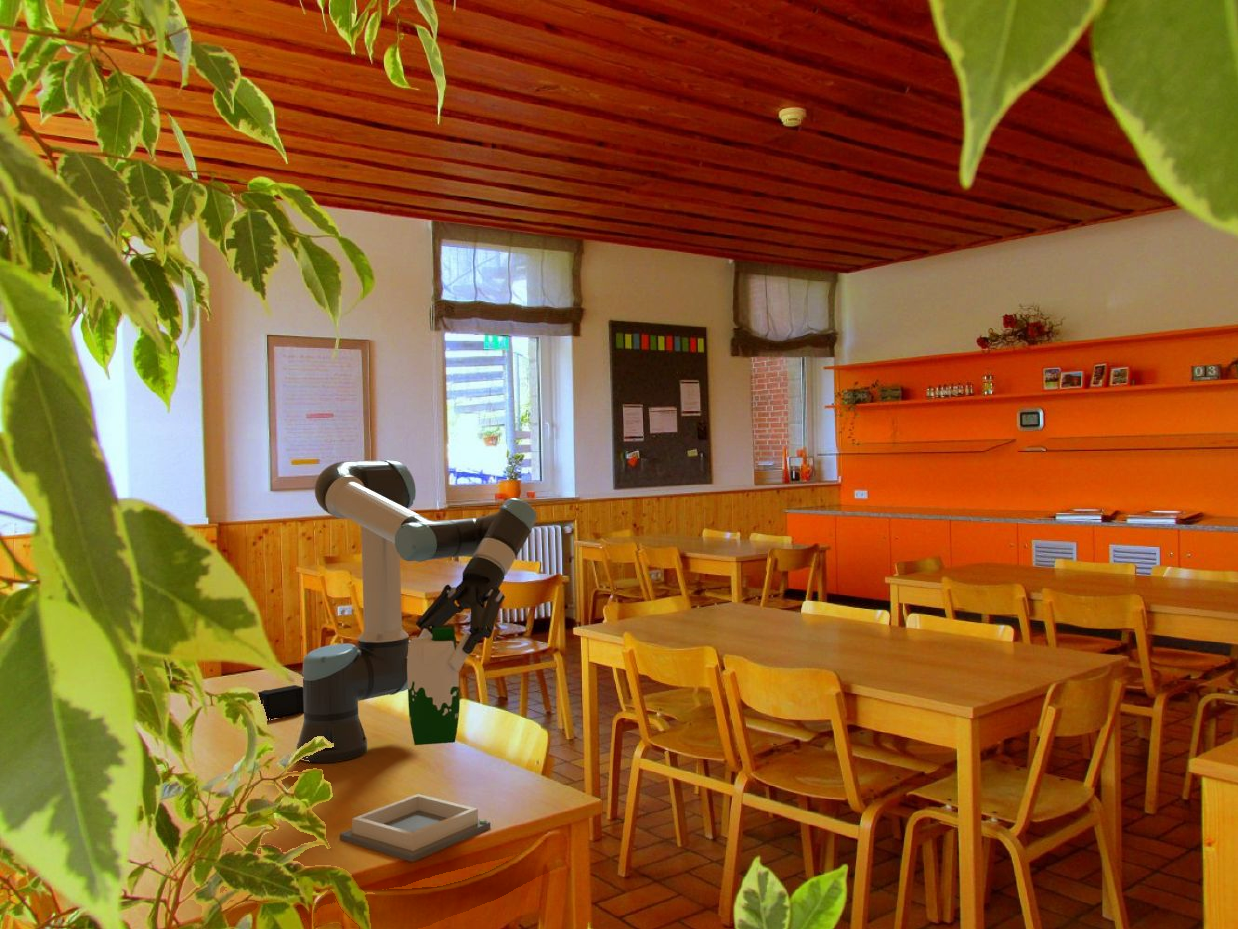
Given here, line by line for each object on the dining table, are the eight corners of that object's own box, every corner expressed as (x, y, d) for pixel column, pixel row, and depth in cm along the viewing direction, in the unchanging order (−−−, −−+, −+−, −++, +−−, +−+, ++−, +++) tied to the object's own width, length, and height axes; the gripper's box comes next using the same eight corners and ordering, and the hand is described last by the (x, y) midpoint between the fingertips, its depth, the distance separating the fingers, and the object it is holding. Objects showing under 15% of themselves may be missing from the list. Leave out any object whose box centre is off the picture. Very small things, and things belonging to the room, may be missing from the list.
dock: (339, 839, 174) (339, 819, 174) (419, 809, 189) (418, 790, 189) (412, 862, 163) (412, 840, 163) (490, 827, 178) (489, 807, 178)
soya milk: (459, 743, 181) (455, 630, 180) (407, 747, 180) (403, 633, 180) (462, 730, 189) (457, 623, 189) (412, 734, 188) (408, 625, 188)
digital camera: (293, 710, 268) (293, 683, 268) (304, 713, 265) (303, 686, 265) (256, 718, 261) (255, 691, 261) (266, 721, 257) (265, 694, 257)
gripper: (542, 581, 193) (489, 682, 180) (456, 577, 206) (400, 670, 193) (523, 556, 189) (467, 657, 176) (436, 553, 201) (377, 647, 189)
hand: (432, 664), depth 184 cm, fingers closed on soya milk, 10 cm apart
